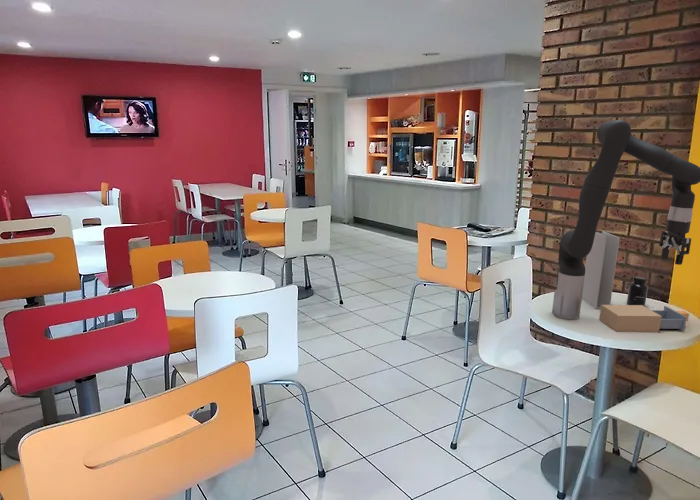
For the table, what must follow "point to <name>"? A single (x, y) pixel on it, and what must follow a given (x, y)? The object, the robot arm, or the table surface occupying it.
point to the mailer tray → (672, 318)
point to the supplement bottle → (637, 291)
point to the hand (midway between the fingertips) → (671, 261)
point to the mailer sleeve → (630, 318)
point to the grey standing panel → (600, 269)
